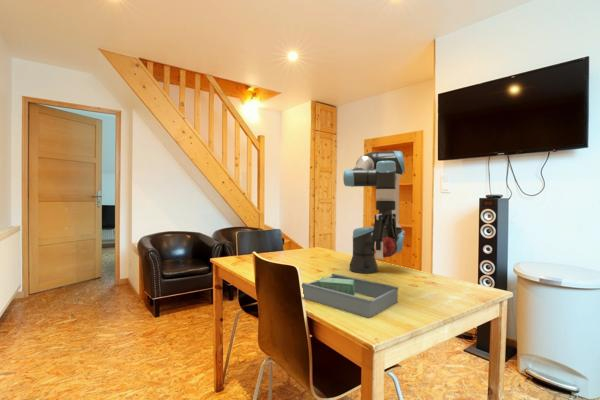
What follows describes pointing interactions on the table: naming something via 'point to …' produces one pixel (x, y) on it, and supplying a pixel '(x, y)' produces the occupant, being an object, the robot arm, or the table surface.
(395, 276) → the table surface
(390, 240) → the fruit
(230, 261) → the table surface
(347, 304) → the tray
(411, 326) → the table surface
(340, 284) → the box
